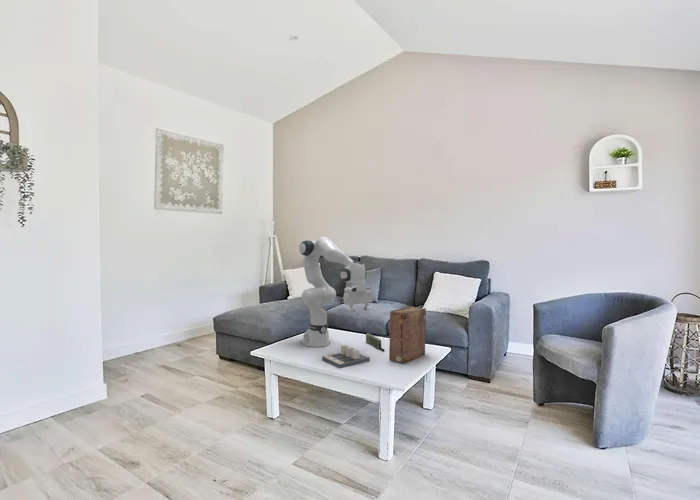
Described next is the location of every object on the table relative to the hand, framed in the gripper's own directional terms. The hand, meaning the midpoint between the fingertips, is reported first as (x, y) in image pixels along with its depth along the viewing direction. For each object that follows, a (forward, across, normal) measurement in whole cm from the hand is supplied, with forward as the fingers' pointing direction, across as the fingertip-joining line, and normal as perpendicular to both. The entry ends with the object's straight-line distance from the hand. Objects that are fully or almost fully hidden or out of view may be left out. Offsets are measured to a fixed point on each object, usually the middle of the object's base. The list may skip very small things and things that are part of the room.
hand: (359, 311), depth 234 cm
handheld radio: (+28, -26, -16) cm, 42 cm away
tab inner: (+26, +5, -10) cm, 28 cm away
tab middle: (+27, +5, -4) cm, 28 cm away
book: (+30, -27, +12) cm, 43 cm away
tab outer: (+27, +5, +1) cm, 28 cm away
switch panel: (+29, +8, -4) cm, 30 cm away
